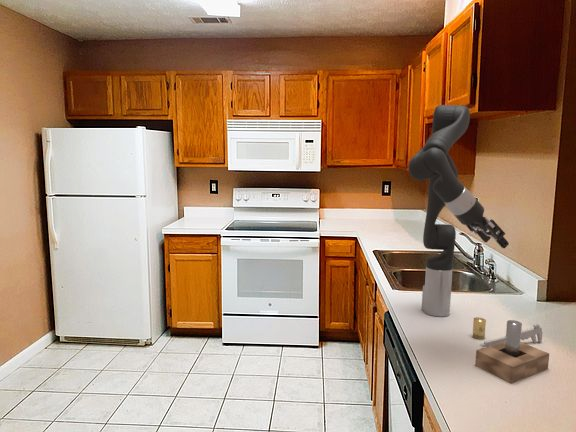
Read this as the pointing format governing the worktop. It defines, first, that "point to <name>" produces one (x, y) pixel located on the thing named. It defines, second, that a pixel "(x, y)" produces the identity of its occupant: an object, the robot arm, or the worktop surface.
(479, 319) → the short pin
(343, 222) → the worktop surface
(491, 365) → the hole block
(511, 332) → the long pin
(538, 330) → the caliper
